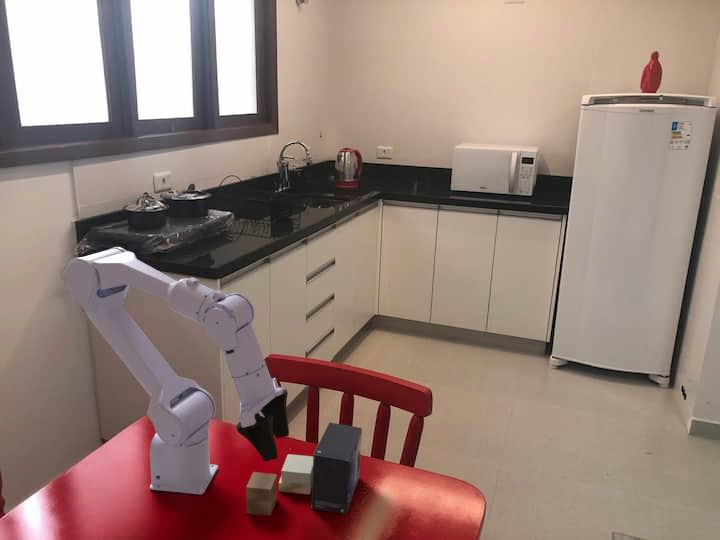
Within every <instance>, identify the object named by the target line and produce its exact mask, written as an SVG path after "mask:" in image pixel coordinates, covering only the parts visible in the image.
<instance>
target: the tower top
mask: <svg viewBox="0 0 720 540" xmlns="http://www.w3.org/2000/svg"><path fill="white" fill-rule="evenodd" d="M280 473H281V474H280V475H281V476H280V478H281V482H287V483H297V484H307V485H310V483H311V480H312V476H313V456H310V455H300V454H290V453H289V454H287V455H286V458H285V460H284V463H283V466H282V468H281V472H280Z"/></svg>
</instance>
